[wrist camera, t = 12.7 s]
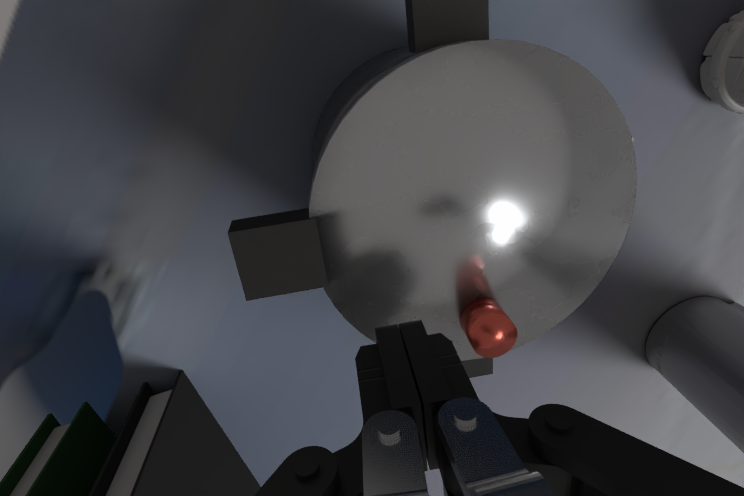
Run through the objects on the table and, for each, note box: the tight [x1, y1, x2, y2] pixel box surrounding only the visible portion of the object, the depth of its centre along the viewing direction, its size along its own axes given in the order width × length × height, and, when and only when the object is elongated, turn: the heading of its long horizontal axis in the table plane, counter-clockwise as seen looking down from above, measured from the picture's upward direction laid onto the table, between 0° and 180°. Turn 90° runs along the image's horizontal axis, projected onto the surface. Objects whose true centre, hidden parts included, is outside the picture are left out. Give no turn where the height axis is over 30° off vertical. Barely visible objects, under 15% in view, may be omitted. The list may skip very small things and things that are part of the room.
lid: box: [228, 39, 637, 361], centre depth 22 cm, size 20×17×4 cm
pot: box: [313, 0, 634, 378], centre depth 30 cm, size 17×25×12 cm
